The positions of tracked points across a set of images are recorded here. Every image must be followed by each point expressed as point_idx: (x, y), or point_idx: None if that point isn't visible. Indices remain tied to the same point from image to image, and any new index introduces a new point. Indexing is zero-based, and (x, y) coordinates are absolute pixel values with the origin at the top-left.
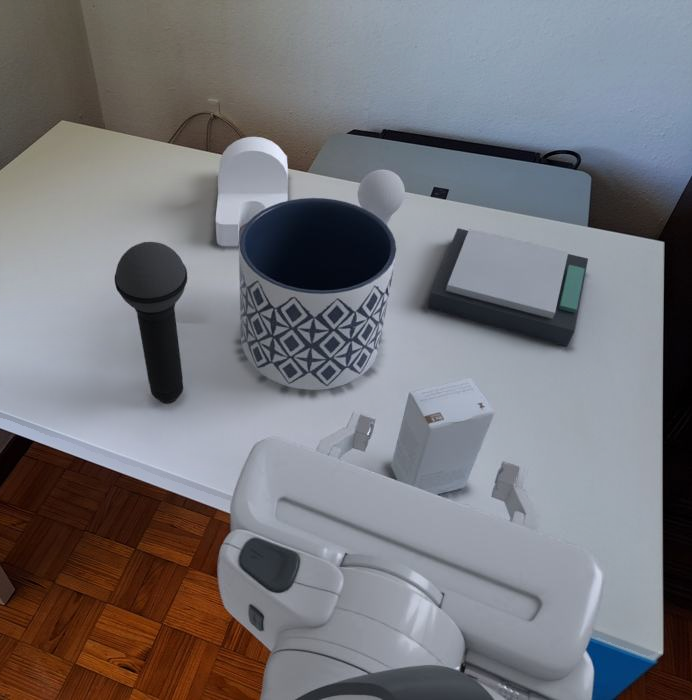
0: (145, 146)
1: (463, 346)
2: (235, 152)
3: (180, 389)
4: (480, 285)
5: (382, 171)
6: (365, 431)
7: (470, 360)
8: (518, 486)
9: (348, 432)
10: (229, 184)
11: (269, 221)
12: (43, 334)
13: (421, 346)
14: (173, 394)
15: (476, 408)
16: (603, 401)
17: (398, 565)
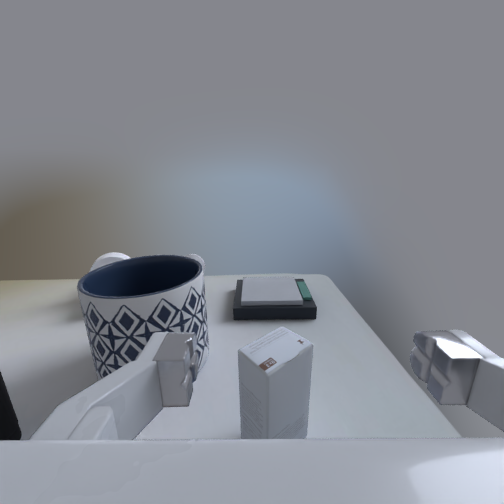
0: (48, 282)
1: (262, 333)
2: (98, 260)
3: (13, 439)
4: (259, 297)
5: (189, 254)
6: (177, 354)
7: None
8: (488, 355)
9: (139, 366)
10: None
11: (111, 273)
12: None
13: (236, 340)
14: None
15: (298, 345)
16: (351, 340)
17: None
